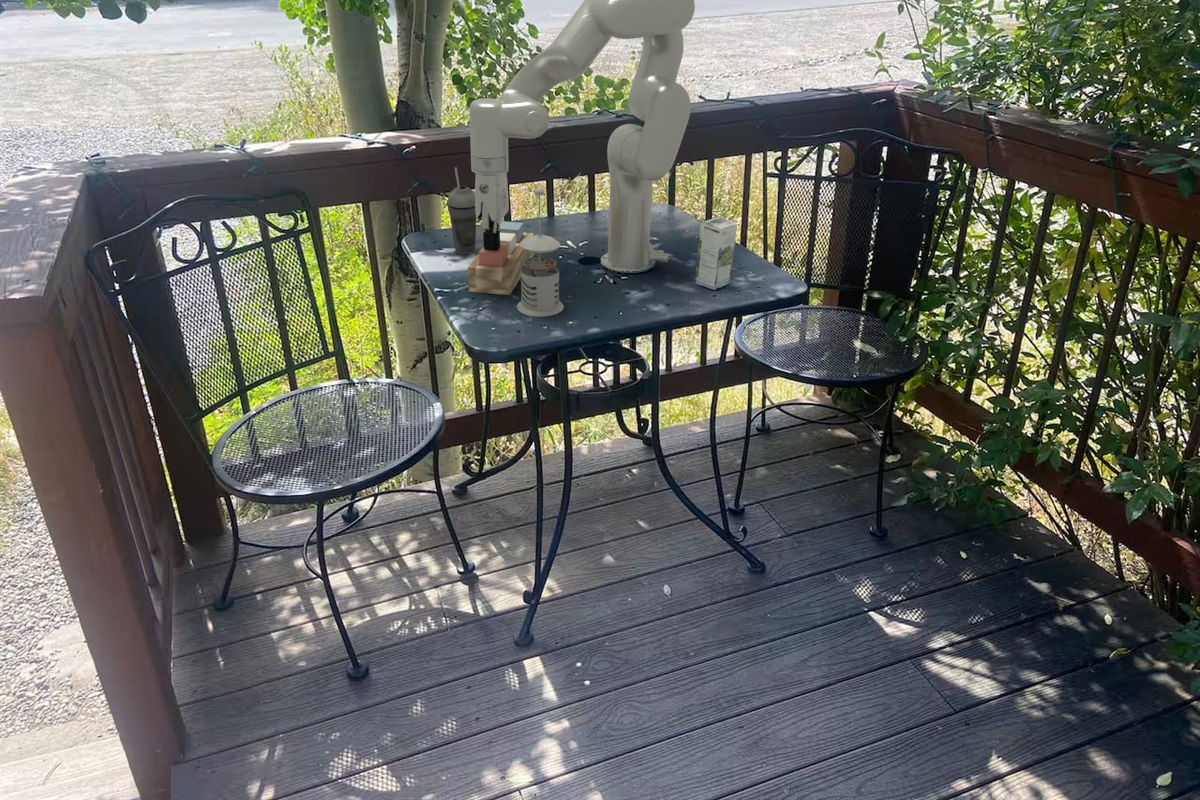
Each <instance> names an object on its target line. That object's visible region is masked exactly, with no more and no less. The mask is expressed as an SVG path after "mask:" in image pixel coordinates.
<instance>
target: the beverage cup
mask: <svg viewBox="0 0 1200 800" xmlns="http://www.w3.org/2000/svg"><path fill="white" fill-rule="evenodd" d="M454 172H455V173H454V174H455V179H456V185H457V187H454V188H452V190H451V191H450V192H449V195H448V196H447V204H446V206H447V209H448V214H449V218H450V224H451V231H452V237H453V238H452V239H453V244H454V245H453V246H454V249H455V253H456V254H457V253H458V254H457V255H460V254H462V255H461V256H467V255H466V254H470V255H472V254H471V253H473V254H475V252H476V240H477V239H476V237H477V219H476V213H475V191H473V190H472V189H471V188H470V187H467V186H464V185H462V186H461V185H460V180H459V173H458V168H457V167H454Z"/></svg>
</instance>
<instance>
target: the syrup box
mask: <svg viewBox="0 0 1200 800" xmlns="http://www.w3.org/2000/svg"><path fill="white" fill-rule="evenodd" d="M699 227H700V228H699V235H698V236H699V237H698V247H697V254H696V255H697V256H696V265H695V266H696V267H695V275H694V276H695V277H694V281H695V280H697V281H699V282H701V283H704V284H706V285H710V286H713V287H716V286H718V285H719V284H722V283H724V282H726V281H728V280H730V281H731V278H732V268H733V263H734V261H733V260H734V253H735V246H736V245H735V244H736V236H737V228H738V224H737V223H736V222H734V221H732V220H729V219H727V218H723V217H720V216H719V217H718V216H717V217H716V216H715V217H714V218H711V219H707V220H705V221H702V222H700V226H699Z"/></svg>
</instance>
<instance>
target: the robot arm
mask: <svg viewBox="0 0 1200 800" xmlns="http://www.w3.org/2000/svg"><path fill="white" fill-rule="evenodd" d="M695 9H696V5H695V0H584V1H583V2H582V3H581V4H580V6H579V7H578V8H577V10H576V11H575V12H574V14H573V15H572V17H571V18H570V19H569V20H568V22H567V23H565V24H566V25H565V26H564V27H563V28H562V29H561V31H560V32H559V34H558V35H557V36H556V37H555V39H554V40H553V42H551V43H550V45H549V46H547V47H545V49H543V50H541V52H539V53H538V54H537V55H536V56H534V57H533V58H532V59H531V60H529V61H528V62H527V63H526V64H525V65H524V66H523V67H522V68H520V70H519V71H518V72H517V73H516V74H515V76H514V77H512V80H511V81H510V82H509V83H508V84H507V86H506V87H505V88H504V90H503V92H502V93H501V95H500V97H499V98H488V97H486V98H484V97H483V98H478V99H475V100H472V101H471V103H470V105H469V109H468V110H469V112H468V113H469V136H470V137H469V138H470V139H469V141H470V164H471V165H470V166H471V169H470V170H471V172H472V173H474V174H475V180H474V181H475V183H474V185H475V186H474V193H475V213H476V221H478V222H481V229H482V232H483V233H482V234H483V235H482V236H483V246H484V249H485V250H493V251H498V250H499V248H500V231H499V229H500V223H501V222H502V221H503V219H504V217H506V215H507V214H508V212H509V210H510V206H509V204H510V203H509V201H510V200H509V188H508V186H509V185H508V184H509V183H508V175H507V174H508V172H509V138H511V139H512V138H513V139H514V138H515V139H525V140H526V139H527V140H530V139H531V140H532V139H536V138H539V137H541V136H542V135H543V134H544V133H546V131H547V130H548V128H549V125H550V115H549V112H548V110H547V109H546V107H545V106H544V105H543V104H542V103H540V101H541V99H542V98H543V97H544V96H545V95H546V94H547V93H548V92H549V91H550V90H551V89H552V88H554V87H556V86H557V85H559V84H561V83H563V82H567V81H570V80H573V79H576V78H578V77H580V76H582V75H583V74H585V73H586V72H587V71H588V69H589V68H590V66H591V65H592V64H593V63H594V61H595V60H596V58H597V57H598V56H599V54H600V53H601V52H602V51H603V50H604V48H605V47H606V45H607V44H608V43H609V42H610V40H611V39H612V38H615V39H619V40H620V39H621V40H630V39H631V40H633V39H640V38H642V39H643V45H642V50H641V54H640V58H639V61H638V64H637V68H636V71H635V74H634V77H633V81H632V83H631V87H630V90H629V94H628V97H627V105H628V110H629V111H630V113H631V114H632V115H634V117H636V118H637V119H639V120H641V121H643V122H644V124H643V126H641V125H638V124H633V123H626V124H622V125H620V126H618V127H617V128H615V129H614V131H613V132H612V133H611V135H610V136H609V139H608V142H607V163H608V171H609V204H608V205H609V207H608V232H607V233H608V237H607V238H608V239H607V243H608V244H607V253H605V254H604V255H602V256H601V257H600V264H602V265H603V266H605V267H606V268H608V269H611V270H615V271H624V272H626V271H629V272H632V271H641V270H644V269H647V268H649V267H651V266H653V264H654V263H655V264H656V262H662V263H663V262H664V263H667V262H668V261H669V259H668V258H669V253H665V251H664V250H661V249H659V250H656V249H654V248H653V247H652V246H653V245H652V243H650V240H651V238H650V237H651V221H652V219H651V218H652V201H653V182H657V181H659V180H662V179H663V178H665V177H666V175H668V173H669V172H670V171H671V169H672V167H673V166H674V163H675V161H676V157H677V155H678V152H679V149H680V146H681V143H682V141H683V137H684V135H685V132H686V129H687V126H688V123H689V119H690V116H691V99H690V95H689V93H688V91H687V90H686V89H685V87H684V86H682V85H681V84H679V82H676V81H677V78H678V74H679V72H680V71H679V70H680V67H681V63H682V59H683V54H684V35H683V32H682V30H684V28H686V27H687V26H688V25H689V24H690V22H691V21H692V19H693V17H694V14H695V12H696V11H695ZM602 265H601V266H602ZM603 266H602V267H603Z"/></svg>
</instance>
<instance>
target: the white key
mask: <svg viewBox="0 0 1200 800" xmlns="http://www.w3.org/2000/svg"><path fill="white" fill-rule="evenodd" d="M500 245H504V246H508V255H512V254H513V252H514V251H515V249H516V234H513V233H500Z"/></svg>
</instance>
